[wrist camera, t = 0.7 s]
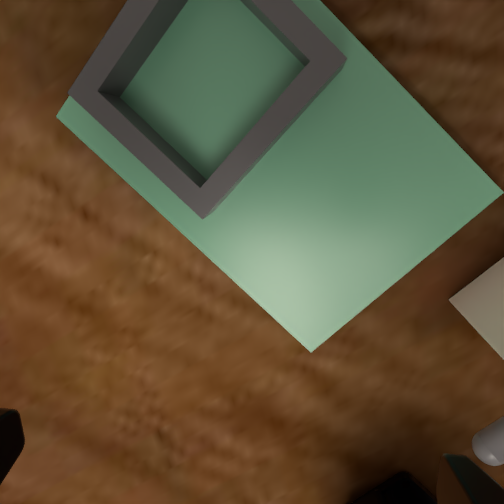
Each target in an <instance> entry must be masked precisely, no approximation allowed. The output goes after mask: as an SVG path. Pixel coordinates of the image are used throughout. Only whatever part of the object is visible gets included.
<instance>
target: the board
mask: <svg viewBox="0 0 504 504" xmlns="http://www.w3.org/2000/svg"><path fill="white" fill-rule="evenodd" d="M68 94H69V95H70V96H69V97H68V99H67V100H66V102H65V103H64V105H63V106H62V108H61V109H60V111H59V112H58V114H57V115H56V117H57V118H58V119H59V120H60V121H61V122H62V123H63V124H64V125H66V126H67V127H68V128H69V129H70V130H71V131H72V132H73V133H74V134H75V135H76V136H77V137H78V138H80V139H81V140H82V141H83V142H84V143H85V144H86V145H87V146H88V147H89V148H90V149H91V150H93V151H94V152H95V153H96V154H97V155H98V156H99V157H100V158H101V159H102V160H103V161H104V162H105V163H107V164H108V165H109V166H110V167H111V168H112V169H113V170H114V171H115V172H116V173H117V174H118V175H120V176H121V177H122V178H123V179H124V180H125V181H126V182H127V183H128V184H129V185H130V186H131V187H133V188H134V189H135V190H136V191H137V192H138V193H139V194H140V195H141V196H142V197H143V198H144V199H145V200H147V201H148V202H149V203H150V204H151V205H152V206H153V207H154V208H155V209H156V210H157V211H158V212H160V213H161V214H162V215H163V216H164V217H165V218H166V219H167V220H168V221H169V222H170V223H171V224H173V225H174V226H175V227H176V228H177V229H178V230H179V231H180V232H181V233H182V234H183V235H184V236H185V237H187V238H188V239H189V240H190V241H191V242H192V243H193V244H194V245H195V246H196V247H197V248H198V249H200V250H201V251H202V252H203V253H204V254H205V255H206V256H207V257H208V258H209V259H210V260H211V261H213V262H214V263H215V264H216V265H217V266H218V267H219V268H220V269H221V270H222V271H223V272H224V273H225V274H227V275H228V276H229V277H230V278H231V279H232V280H233V281H234V282H235V283H236V284H237V285H238V286H240V287H241V288H242V289H243V290H244V291H245V292H246V293H247V294H248V295H249V296H250V297H251V298H253V299H254V300H255V301H256V302H257V303H258V304H259V305H260V306H261V307H262V308H263V309H264V310H265V311H267V312H268V313H269V314H270V315H271V316H272V317H273V318H274V319H275V320H276V321H277V322H278V323H280V324H281V325H282V326H283V327H284V328H285V329H286V330H287V331H288V332H289V333H290V334H291V335H293V336H294V337H295V338H296V339H297V340H298V341H299V342H300V343H301V344H302V345H303V346H304V347H305V348H307V349H308V350H309V351H310V352H312V351H313V350H315V349H316V348H317V347H318V346H320V345H321V344H322V343H323V342H324V341H326V340H327V339H328V338H329V337H330V336H332V335H333V334H334V333H335V332H336V331H338V330H339V329H340V328H341V327H342V326H344V325H345V324H346V323H347V322H348V321H350V320H351V319H352V318H353V317H354V316H356V315H357V314H358V313H359V312H361V311H362V310H363V309H364V308H365V307H367V306H368V305H369V304H370V303H371V302H373V301H374V300H375V299H376V298H377V297H379V296H380V295H381V294H382V293H383V292H385V291H386V290H387V289H388V288H389V287H391V286H392V285H393V284H394V283H395V282H397V281H398V280H399V279H400V278H402V277H403V276H404V275H405V274H406V273H408V272H409V271H410V270H411V269H412V268H414V267H415V266H416V265H417V264H418V263H420V262H421V261H422V260H423V259H424V258H426V257H427V256H428V255H429V254H430V253H432V252H433V251H434V250H435V249H436V248H438V247H439V246H440V245H441V244H442V243H444V242H445V241H446V240H447V239H449V238H450V237H451V236H452V235H453V234H455V233H456V232H457V231H458V230H459V229H461V228H462V227H463V226H464V225H465V224H467V223H468V222H469V221H470V220H471V219H473V218H474V217H475V216H476V215H477V214H479V213H480V212H481V211H482V210H483V209H485V208H486V207H487V206H488V205H490V204H491V203H492V202H493V201H494V200H496V199H497V198H498V197H499V196H500V195H502V194H503V193H504V192H503V191H502V190H501V189H500V188H499V187H498V186H497V185H496V184H495V183H494V182H493V181H492V180H491V179H490V178H489V177H488V175H487V174H486V173H485V172H484V171H483V170H482V169H481V168H480V167H479V166H478V165H477V164H476V163H475V162H474V161H473V160H472V159H471V158H470V157H469V156H468V155H467V154H466V152H465V151H464V150H463V149H462V148H461V147H460V146H459V145H458V144H457V143H456V142H455V141H454V140H453V139H452V138H451V137H450V136H449V135H448V134H447V133H446V132H445V131H444V129H443V128H442V127H441V126H440V125H439V124H438V123H437V122H436V121H435V120H434V119H433V118H432V117H431V116H430V115H429V114H428V113H427V112H426V111H425V110H424V109H423V107H422V106H421V105H420V104H419V103H418V102H417V101H416V100H415V99H414V98H413V97H412V96H411V95H410V94H409V93H408V92H407V91H406V90H405V89H404V88H403V87H402V86H401V84H400V83H399V82H398V81H397V80H396V79H395V78H394V77H393V76H392V75H391V74H390V73H389V72H388V71H387V70H386V69H385V68H384V67H383V66H382V65H381V64H380V63H379V61H378V60H377V59H376V58H375V57H374V56H373V55H372V54H371V53H370V52H369V51H368V50H367V49H366V48H365V47H364V46H363V45H362V44H361V43H360V42H359V41H358V40H357V38H356V37H355V36H354V35H353V34H352V33H351V32H350V31H349V30H348V29H347V28H346V27H345V26H344V25H343V24H342V23H341V22H340V21H339V20H338V19H337V18H336V17H335V15H334V14H333V13H332V12H331V11H330V10H329V9H328V8H327V7H326V6H325V5H324V4H323V3H322V2H321V1H320V0H127V2H126V3H125V5H124V6H123V8H122V10H121V11H120V13H119V14H118V16H117V17H116V19H115V20H114V22H113V23H112V25H111V26H110V28H109V30H108V31H107V33H106V34H105V36H104V37H103V39H102V40H101V42H100V43H99V45H98V46H97V48H96V50H95V51H94V53H93V54H92V56H91V57H90V59H89V60H88V62H87V63H86V65H85V66H84V68H83V70H82V71H81V73H80V74H79V76H78V77H77V79H76V80H75V82H74V83H73V85H72V86H71V88H70V90H69V91H68Z"/></svg>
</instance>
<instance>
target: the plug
mask: <svg viewBox="0 0 504 504" xmlns="http://www.w3.org/2000/svg"><path fill="white" fill-rule="evenodd" d="M449 301H450V302H451V303H452V304H453V306H454V307H455V308H456V309H457V310H458V311H459V312H460V313H461V314H462V315H463V316H464V317H465V319H466V320H467V321H468V322H469V323H470V324H471V325H472V326H473V327H474V328H475V329H476V330H477V331H478V333H479V334H480V335H481V336H482V337H483V338H484V339H485V340H486V341H487V342H488V343H489V344H490V346H491V347H492V348H493V349H494V350H495V351H496V352H497V353H498V354H499V355H500V356H501V357H502V358H503V360H504V257H503V258H502V259H501V260H499V261H498V262H497V263H496V264H494V265H493V266H492V267H490V268H489V269H488V270H486V271H485V272H484V273H483V274H481V275H480V276H479V277H477V278H476V279H475V280H473V281H472V282H471V283H470V284H468V285H467V286H466V287H464V288H463V289H462V290H460V291H459V292H458V293H457V294H455V295H454V296H453V297H451V298H450V299H449ZM472 448H473V451H474V453H475V455H476V456H477V457H478V458H479V459H480V460H481V461H483V462H484V463H486V464H488V465H492V466H498V465H502V464H504V416H503V417H501V418H499V419H498V420H496V421H495V422H493V423H491V424H490V425H488V426H487V427H485V428H483V429H482V430H480V431H479V432H477V433H476V434H475V435H474V436H473V439H472Z"/></svg>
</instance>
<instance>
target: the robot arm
mask: <svg viewBox="0 0 504 504" xmlns="http://www.w3.org/2000/svg"><path fill="white" fill-rule="evenodd" d="M24 444H25V437H24V432H23V427H22V422H21V418H20V414H19V412H18V411H17V410H15V409H6V408H0V485H1V483H2V481H3V480H4V478H5V477H6V475H7V474H8V472H9V471H10V469H11V468H12V466H13V464H14V463H15V461H16V460H17V458H18V457H19V455H20V454H21V452H22V450H23V447H24ZM403 481H407V482H403ZM436 496H437V498H436V497H435V496H434V495H433V494H431V493H430V492H429V491H428V490H427V489H426V488H425V487H424V486H423V485H422V484H420V483H419V482H418V481H417V480H416V479H415V478H414V477H413V476H412V475H411V474H409V473H406V472H401V473H398V474H397V475H395V476H394V477H392V478H391V479H389V480H387V481H386V482H384V483H383V484H381V485H379V486H378V487H376V488H375V489H373V490H372V491H370V492H368V493H367V494H365V495H364V496H362V497H360V498H359V499H357V500H356V501H354V502H353V503H351V504H504V488H503V487H501V486H500V485H499V484H498V483H497V482H496V481H495V480H493V479H492V478H491V477H490V476H489V475H488V474H487V473H486V472H484V471H483V470H482V469H481V468H480V467H479V466H478V465H476V464H475V463H474V462H473V461H472V460H471V459H470V458H468V457H467V456H464V455H458V454H448V453H445V454H443V455H442V456H441V459H440V465H439V472H438V479H437V486H436Z"/></svg>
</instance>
